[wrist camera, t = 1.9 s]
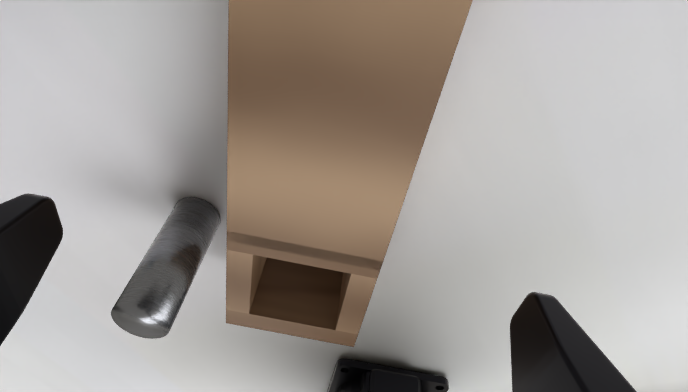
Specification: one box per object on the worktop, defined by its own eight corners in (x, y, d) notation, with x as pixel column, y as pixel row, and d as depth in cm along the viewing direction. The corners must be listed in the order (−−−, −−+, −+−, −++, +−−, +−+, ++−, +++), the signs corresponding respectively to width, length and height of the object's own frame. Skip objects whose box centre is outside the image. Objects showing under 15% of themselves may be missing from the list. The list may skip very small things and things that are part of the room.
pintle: (220, 235, 20) (171, 342, 16) (176, 226, 20) (115, 332, 16) (220, 202, 19) (167, 309, 15) (173, 193, 19) (106, 297, 15)
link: (273, -266, 10) (231, -300, 7) (512, -210, 10) (549, -224, 8) (246, 266, 21) (226, 323, 19) (359, 288, 21) (353, 346, 19)
